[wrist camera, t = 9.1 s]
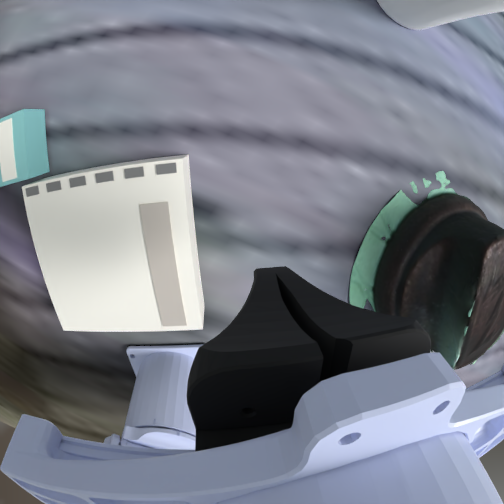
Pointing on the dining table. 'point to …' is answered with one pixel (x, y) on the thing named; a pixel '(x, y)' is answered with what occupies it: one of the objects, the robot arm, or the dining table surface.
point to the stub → (23, 146)
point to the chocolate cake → (436, 271)
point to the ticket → (119, 246)
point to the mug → (436, 11)
